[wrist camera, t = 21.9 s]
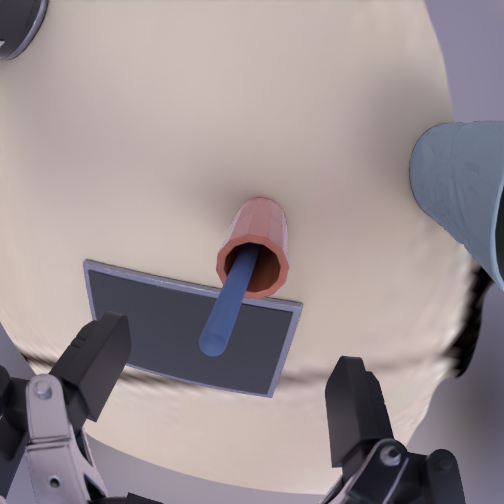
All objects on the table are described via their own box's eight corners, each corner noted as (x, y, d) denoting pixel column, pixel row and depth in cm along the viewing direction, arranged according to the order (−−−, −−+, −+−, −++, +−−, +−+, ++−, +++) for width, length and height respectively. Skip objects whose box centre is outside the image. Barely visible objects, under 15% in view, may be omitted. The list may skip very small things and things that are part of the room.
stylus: (252, 226, 23) (194, 357, 12) (255, 212, 22) (195, 339, 11) (267, 230, 23) (221, 364, 12) (270, 216, 22) (223, 348, 11)
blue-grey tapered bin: (399, 229, 22) (473, 312, 11) (396, 107, 18) (496, 103, 7) (485, 222, 21) (565, 285, 10) (488, 117, 17) (587, 136, 6)
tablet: (104, 353, 32) (101, 357, 31) (86, 259, 26) (81, 263, 25) (272, 393, 32) (271, 398, 31) (302, 303, 26) (302, 308, 25)
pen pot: (233, 238, 24) (213, 291, 17) (240, 193, 22) (220, 229, 15) (280, 247, 24) (280, 303, 17) (289, 202, 22) (294, 242, 15)
